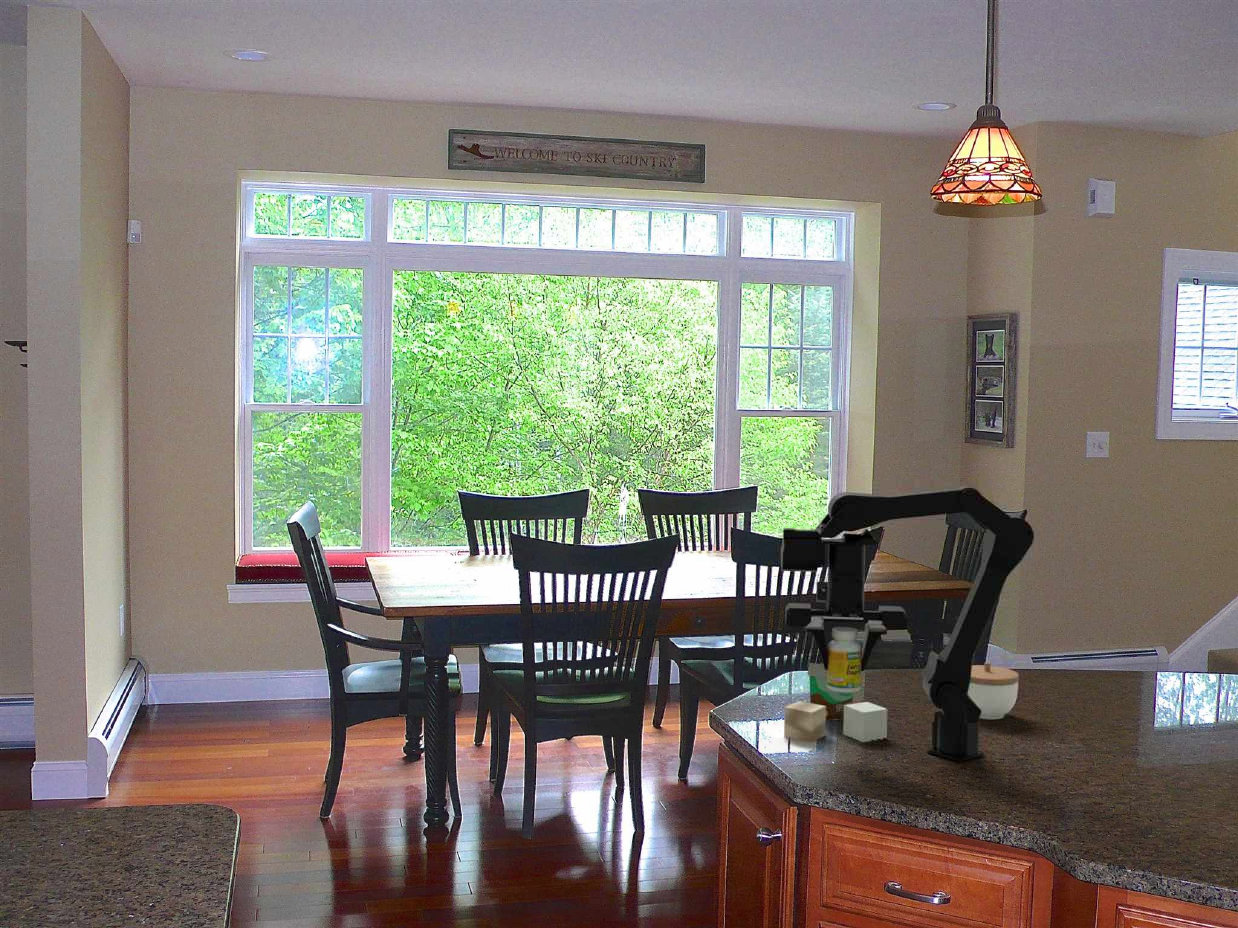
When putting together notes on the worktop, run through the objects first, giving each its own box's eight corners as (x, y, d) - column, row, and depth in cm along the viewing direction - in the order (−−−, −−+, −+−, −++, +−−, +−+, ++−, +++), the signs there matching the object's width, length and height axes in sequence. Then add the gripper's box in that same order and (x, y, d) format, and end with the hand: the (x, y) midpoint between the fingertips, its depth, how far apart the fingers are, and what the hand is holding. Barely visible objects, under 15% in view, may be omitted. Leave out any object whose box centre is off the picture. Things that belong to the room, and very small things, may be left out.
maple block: (825, 735, 194) (826, 706, 194) (811, 742, 190) (811, 712, 190) (798, 730, 197) (799, 701, 197) (784, 736, 193) (784, 707, 193)
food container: (838, 726, 199) (840, 668, 199) (806, 719, 203) (807, 663, 202) (870, 711, 209) (871, 656, 209) (838, 705, 213) (839, 651, 212)
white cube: (886, 738, 193) (887, 708, 192) (862, 742, 190) (863, 712, 190) (866, 730, 197) (867, 701, 197) (843, 734, 195) (844, 705, 194)
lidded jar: (1031, 719, 205) (1032, 667, 204) (981, 725, 201) (982, 671, 200) (990, 704, 215) (992, 654, 214) (942, 709, 211) (943, 658, 210)
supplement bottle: (839, 682, 189) (841, 624, 188) (867, 689, 185) (869, 629, 185) (819, 688, 185) (821, 628, 185) (847, 694, 181) (849, 633, 181)
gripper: (900, 566, 191) (898, 660, 192) (785, 563, 193) (784, 656, 194) (909, 577, 180) (906, 676, 181) (786, 573, 182) (785, 672, 183)
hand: (844, 669), depth 185 cm, fingers closed on supplement bottle, 5 cm apart
